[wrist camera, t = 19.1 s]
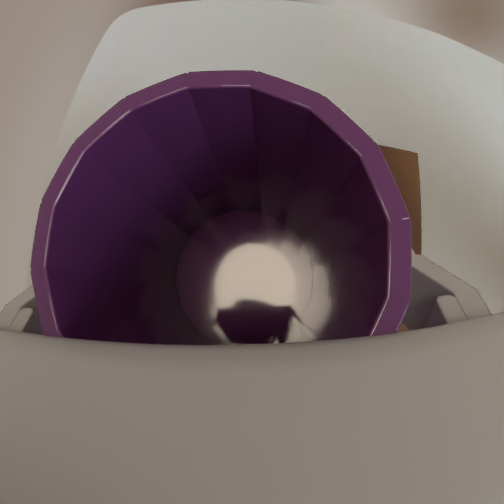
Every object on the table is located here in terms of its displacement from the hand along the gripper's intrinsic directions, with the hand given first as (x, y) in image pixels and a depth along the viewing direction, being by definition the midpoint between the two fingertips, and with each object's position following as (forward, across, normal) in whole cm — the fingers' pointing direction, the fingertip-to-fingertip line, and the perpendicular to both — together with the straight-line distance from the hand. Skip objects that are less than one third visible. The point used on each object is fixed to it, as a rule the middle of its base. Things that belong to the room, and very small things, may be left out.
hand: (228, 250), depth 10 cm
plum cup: (+3, 0, +4) cm, 5 cm away
